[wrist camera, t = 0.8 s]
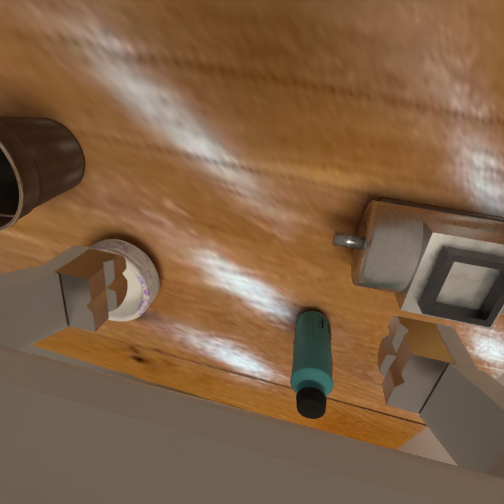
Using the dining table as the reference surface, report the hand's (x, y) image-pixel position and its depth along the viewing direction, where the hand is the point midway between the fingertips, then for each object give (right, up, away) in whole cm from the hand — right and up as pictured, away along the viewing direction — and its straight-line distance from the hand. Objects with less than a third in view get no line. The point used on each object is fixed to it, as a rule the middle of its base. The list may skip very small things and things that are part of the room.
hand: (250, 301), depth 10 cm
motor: (+26, +4, +40) cm, 48 cm away
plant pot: (-34, +19, +46) cm, 61 cm away
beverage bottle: (+12, -11, +51) cm, 54 cm away
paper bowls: (-24, -1, +54) cm, 59 cm away
